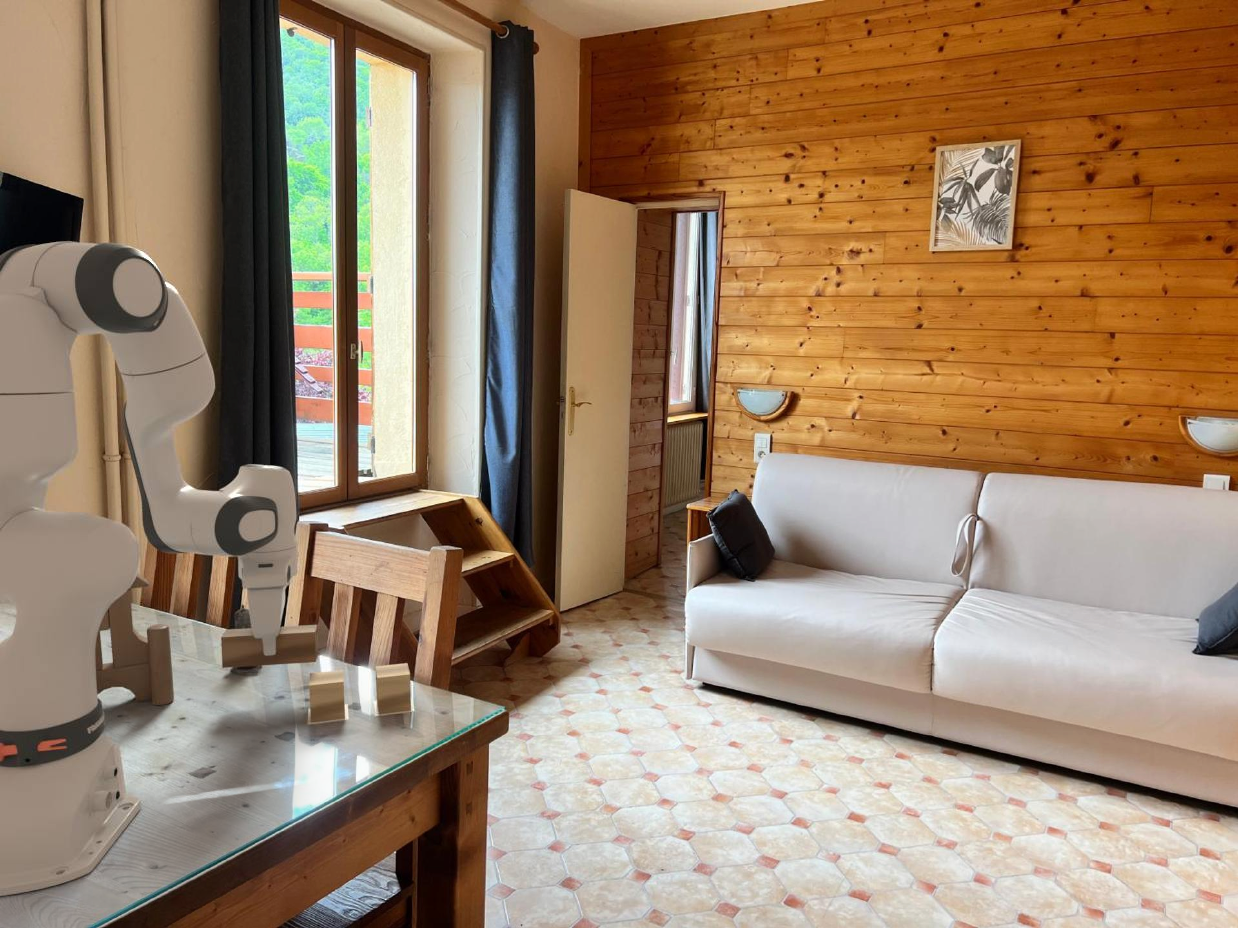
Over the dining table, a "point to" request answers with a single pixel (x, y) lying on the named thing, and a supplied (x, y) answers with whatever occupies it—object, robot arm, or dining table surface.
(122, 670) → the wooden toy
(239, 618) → the salt shaker
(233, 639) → the wooden block
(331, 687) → the pillar near
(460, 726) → the dining table surface
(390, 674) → the pillar far
